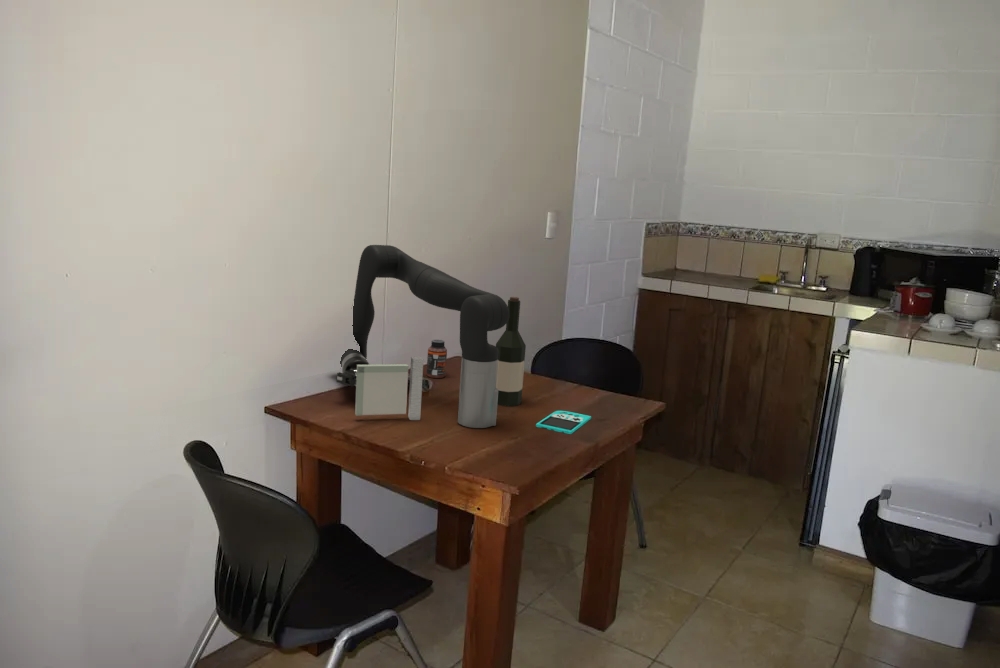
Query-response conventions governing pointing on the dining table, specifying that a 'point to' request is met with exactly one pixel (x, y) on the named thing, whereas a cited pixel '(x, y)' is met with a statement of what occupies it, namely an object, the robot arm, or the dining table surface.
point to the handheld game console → (563, 421)
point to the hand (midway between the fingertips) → (365, 386)
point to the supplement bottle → (436, 359)
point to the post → (415, 388)
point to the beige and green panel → (381, 389)
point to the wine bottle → (511, 359)
